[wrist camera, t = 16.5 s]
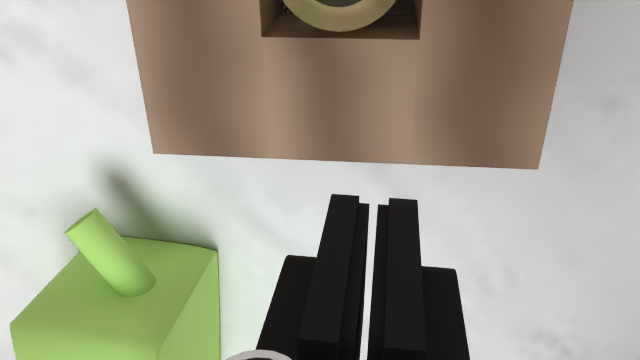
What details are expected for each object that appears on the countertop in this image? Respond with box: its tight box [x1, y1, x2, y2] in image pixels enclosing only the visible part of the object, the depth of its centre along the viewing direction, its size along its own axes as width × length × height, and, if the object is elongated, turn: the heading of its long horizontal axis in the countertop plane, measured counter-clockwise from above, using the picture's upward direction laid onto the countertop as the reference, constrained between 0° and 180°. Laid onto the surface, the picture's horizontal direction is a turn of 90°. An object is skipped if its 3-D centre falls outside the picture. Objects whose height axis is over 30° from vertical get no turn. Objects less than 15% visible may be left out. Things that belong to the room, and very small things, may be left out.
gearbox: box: [10, 208, 220, 360], centre depth 33 cm, size 18×10×10 cm, turn 176°
